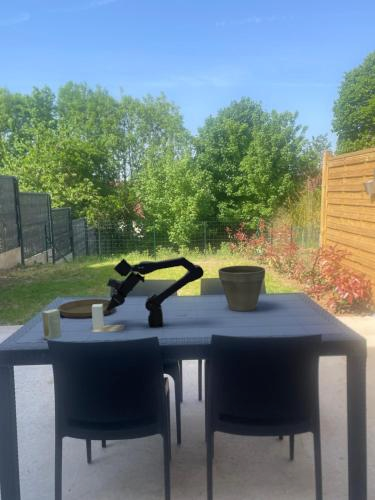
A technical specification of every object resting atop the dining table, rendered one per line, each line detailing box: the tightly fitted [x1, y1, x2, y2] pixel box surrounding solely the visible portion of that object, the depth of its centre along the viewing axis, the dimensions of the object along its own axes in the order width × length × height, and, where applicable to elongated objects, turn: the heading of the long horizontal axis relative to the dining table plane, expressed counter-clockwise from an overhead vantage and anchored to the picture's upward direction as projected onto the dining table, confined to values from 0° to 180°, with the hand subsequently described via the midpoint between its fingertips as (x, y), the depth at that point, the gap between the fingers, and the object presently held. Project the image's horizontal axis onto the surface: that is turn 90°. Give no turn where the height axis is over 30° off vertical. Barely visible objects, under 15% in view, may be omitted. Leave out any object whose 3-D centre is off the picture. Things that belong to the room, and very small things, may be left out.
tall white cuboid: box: [91, 304, 105, 330], centre depth 201 cm, size 4×6×10 cm
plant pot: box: [218, 265, 266, 312], centre depth 231 cm, size 25×25×22 cm
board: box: [91, 324, 126, 333], centre depth 199 cm, size 14×10×1 cm
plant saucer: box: [57, 298, 115, 319], centre depth 233 cm, size 31×31×5 cm
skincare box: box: [42, 308, 62, 340], centre depth 188 cm, size 6×4×12 cm
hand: (107, 308), depth 201 cm, fingers open, 9 cm apart
